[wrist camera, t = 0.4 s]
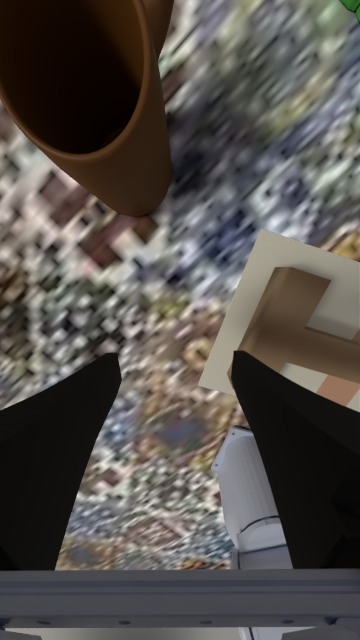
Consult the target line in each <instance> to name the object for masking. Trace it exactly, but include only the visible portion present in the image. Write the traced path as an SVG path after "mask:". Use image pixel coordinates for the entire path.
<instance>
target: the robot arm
mask: <svg viewBox="0 0 360 640" xmlns="http://www.w3.org/2000/svg"><path fill="white" fill-rule="evenodd" d="M231 380H232V384H233V387H234V391H235V394H236V396H237V398H238V401H239V403H240V405H241V408H242V410H243V412H244V414H245V417H246V419H247V421H248V424H249V426H250V428H251V431H250V430H246V429H242V428H238V427H232V428H231V430H230V431H229V433H228V435H227V437H226V439H225V441H224V443H223V445H222V447H221V449H220V450H219V452H218V454H217V456H216V458H215V460H214V462H213V464H212V466H211V469H212V471H215V472H217V475H218V482H219V488H220V495H221V501H222V508H223V514H224V520H225V524H226V528H227V530H228V533H229V535H230V537H231V539H232V541H233V543H234V544H235V546H236V547H237V548H238V549H234V551H233V554H232V559H231V563H230V569H213V570H62V571H54V570H55V567H56V563H57V559H58V556H59V552H60V549H61V546H62V542H63V539H64V535H65V532H66V528H67V525H68V522H69V518H70V515H71V512H72V509H73V506H74V503H75V499H76V496H77V493H78V490H79V487H80V484H81V481H82V478H83V475H84V472H85V469H86V466H87V463H88V461H89V458H90V455H91V452H92V450H93V447H94V444H95V442H96V439H97V437H98V435H99V432H100V430H101V428H102V426H103V424H104V422H105V419H106V417H107V415H108V413H109V411H110V409H111V407H112V405H113V402H114V400H115V398H116V396H117V393H118V390H119V387H120V384H121V381H122V378H121V372H120V367H119V361H118V356H117V353H106V354H104V355H102V356H101V357H99V358H97V359H96V360H94V361H93V362H91V363H90V364H88V365H86V366H85V367H83V368H82V369H80V370H79V371H77V372H75V373H74V374H72V375H70V376H69V377H67V378H65V379H64V380H62V381H60V382H59V383H57V384H55V385H53V386H51V387H49V388H48V389H46V390H44V391H42V392H40V393H38V394H36V395H34V396H32V397H30V398H27V399H25V400H23V401H21V402H18V403H16V404H14V405H12V406H9V407H7V408H5V409H3V410H0V640H42V639H41V637H40V636H37V635H30V634H23V633H16V632H9V631H5V628H123V627H124V628H144V627H145V628H150V627H152V628H153V627H154V628H156V627H160V628H161V627H238V630H239V634H240V638H241V640H360V412H358V411H355V410H353V409H350V408H348V407H346V406H343V405H341V404H338V403H336V402H334V401H332V400H329V399H327V398H325V397H323V396H321V395H318V394H316V393H314V392H312V391H310V390H308V389H306V388H304V387H302V386H300V385H299V384H297V383H295V382H293V381H291V380H290V379H288V378H286V377H284V376H283V375H281V374H279V373H278V372H276V371H275V370H273V369H271V368H270V367H268V366H267V365H265V364H264V363H262V362H261V361H259V360H258V359H256V358H255V357H254V356H252V355H251V354H249V353H247V352H246V351H244V350H234V352H233V361H232V371H231Z"/></svg>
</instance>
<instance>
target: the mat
mask: <svg viewBox="0 0 360 640" xmlns="http://www.w3.org/2000/svg"><path fill="white" fill-rule="evenodd" d="M275 267H293V268H296V269H299V270H302V271H305V272H308V273H311V274H314V275H317V276H320V277H323V278H326V279H329V280H332V281H331V282H330V284H329V286H328V288H327V290H326V291H325V293H324V295H323V297H322V298H321V300H320V302H319V304H318V305H317V307H316V309H315V311H314V312H313V314H312V316H311V318H310V319H309V321H308V323H307V325H306V326H308V327H311V328H314V329H317V330H320V331H324V332H327V333H330V334H333V335H337V336H340V337H343V338H346V339H349V340H353V341H356V342H359V343H360V262H357V261H354V260H352V259H349V258H346V257H343V256H340V255H337V254H334V253H331V252H328V251H325V250H322V249H319V248H316V247H313V246H310V245H308V244H305V243H302V242H299V241H296V240H293V239H290V238H287V237H284V236H281V235H278V234H275V233H272V232H269V231H266V230H264V229H260V232H259V234H258V237H257V239H256V242H255V244H254V247H253V249H252V252H251V254H250V257H249V259H248V262H247V264H246V267H245V269H244V272H243V274H242V277H241V279H240V281H239V284H238V286H237V289H236V291H235V294H234V296H233V299H232V301H231V304H230V306H229V309H228V311H227V314H226V316H225V319H224V321H223V324H222V326H221V329H220V331H219V334H218V336H217V339H216V341H215V344H214V346H213V349H212V351H211V354H210V356H209V358H208V361H207V363H206V366H205V368H204V371H203V373H202V376H201V378H200V381H199V383H198V386H202V387H205V388H209V389H213V390H216V391H220V392H224V393H227V394H231V395H234V396H236V394H235V391H234V389H233V388H232V386H231V383H230V381H229V378H228V375H227V372H228V369H229V367H230V365H231V363H232V361H233V352H234V350H238V347H239V345H240V343H241V341H242V339H243V336H244V334H245V332H246V330H247V328H248V325H249V323H250V321H251V319H252V317H253V314H254V312H255V310H256V308H257V306H258V303H259V301H260V299H261V297H262V295H263V292H264V290H265V288H266V286H267V284H268V281H269V279H270V277H271V275H272V273H273V270H274V268H275ZM279 374H281V375H283V376H284V377H286V378H288V379H290V380H291V381H293V382H295V383H297V384H299V385H300V386H302V387H304V388H306V389H308V390H310V391H312V392H314V393H316V394H318V395H321V396H323V397H325V398H327V399H329V400H332V401H334V402H336V403H338V404H341V405H343V406H346V407H348V408H350V409H353V410H355V411H358V412H360V384H358V383H355V382H351V381H348V380H344V379H341V378H338V377H334V376H331V375H327V374H324V373H321V372H317V371H314V370H310V369H307V368H304V367H300V366H297V365H293V364H290V363H287V362H285V364H284V365H283V367H282V369H281V371H280V372H279Z"/></svg>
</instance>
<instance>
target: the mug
mask: <svg viewBox="0 0 360 640" xmlns="http://www.w3.org/2000/svg"><path fill="white" fill-rule="evenodd" d="M173 3H174V0H0V99H1V101H2V103H3V105H4V106H5V108H6V110H7V112H8V113H9V115H10V116H11V118H12V119H13V121H14V122H15V124H16V125H17V126H18V128H19V129H20V130H21V131H22V132H23V133H24V135H25V136H26V137H27V138H28V139H29V140H30V141H31V142H33V143H34V144H35V145H36V146H37V147H38V148H39V149H40V150H41V151H42V152H43V153H44V154H45V155H46V156H47V157H48V158H49V159H50V160H52V161H53V162H54V163H55V164H56V165H57V166H58V167H59V168H60V169H61V170H63V171H64V172H65V173H66V174H68V175H69V176H70V177H71V178H73V179H74V180H75V181H76V182H78V183H79V184H80V185H82V186H83V187H84V188H85V189H87V190H88V191H89V192H90V193H92V194H93V195H94V196H96V197H97V198H98V199H100V200H101V201H102V202H103V203H105V204H106V205H107V206H109V207H110V208H111V209H113V210H115V211H116V212H118V213H121V214H123V215H127V216H142V215H145V214H148V213H150V212H152V211H153V210H154V209H156V208H157V207H158V206H159V205H160V203H161V202H162V201H163V199H164V198H165V196H166V194H167V191H168V188H169V185H170V180H171V155H170V148H169V138H168V130H167V122H166V115H165V107H164V99H163V92H162V85H161V78H160V72H159V67H158V59H159V56H160V53H161V50H162V48H163V45H164V42H165V39H166V35H167V32H168V28H169V24H170V19H171V14H172V9H173Z"/></svg>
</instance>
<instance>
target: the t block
mask: <svg viewBox="0 0 360 640" xmlns="http://www.w3.org/2000/svg"><path fill="white" fill-rule="evenodd" d="M331 281H332V280H329V279H326V278H323V277H320V276H317V275H314V274H311V273H308V272H305V271H302V270H299V269H296V268H293V267H275V268H274V270H273V273H272V275H271V277H270V279H269V281H268V284H267V286H266V288H265V290H264V292H263V295H262V297H261V299H260V301H259V303H258V306H257V308H256V310H255V312H254V314H253V317H252V319H251V321H250V323H249V325H248V328H247V330H246V332H245V334H244V336H243V339H242V341H241V343H240V345H239V347H238V350H244V351H246V352H247V353H249V354H251V355H252V356H254V357H255V358H256V359H258V360H259V361H261V362H262V363H264V364H265V365H267V366H268V367H270V368H271V369H273V370H275V371H276V372H278V373H279V372H280V371H281V369H282V367H283V365H284V364H285V362H287V363H290V364H293V365H297V366H300V367H304V368H307V369H310V370H314V371H317V372H321V373H324V374H327V375H331V376H334V377H338V378H341V379H344V380H348V381H351V382H355V383H358V384H360V343H359V342H356V341H353V340H349V339H346V338H343V337H340V336H337V335H333V334H330V333H327V332H324V331H320V330H317V329H314V328H311V327H308V326H306V325H307V323H308V321H309V319H310V318H311V316H312V314H313V312H314V311H315V309H316V307H317V305H318V304H319V302H320V300H321V298H322V297H323V295H324V293H325V291H326V290H327V288H328V286H329V284H330V282H331ZM231 371H232V363H231V365H230V367H229V369H228V372H227V375H228V378H229V381H230V383H231V386H232V388H233V389H234V387H233V384H232V380H231Z"/></svg>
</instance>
